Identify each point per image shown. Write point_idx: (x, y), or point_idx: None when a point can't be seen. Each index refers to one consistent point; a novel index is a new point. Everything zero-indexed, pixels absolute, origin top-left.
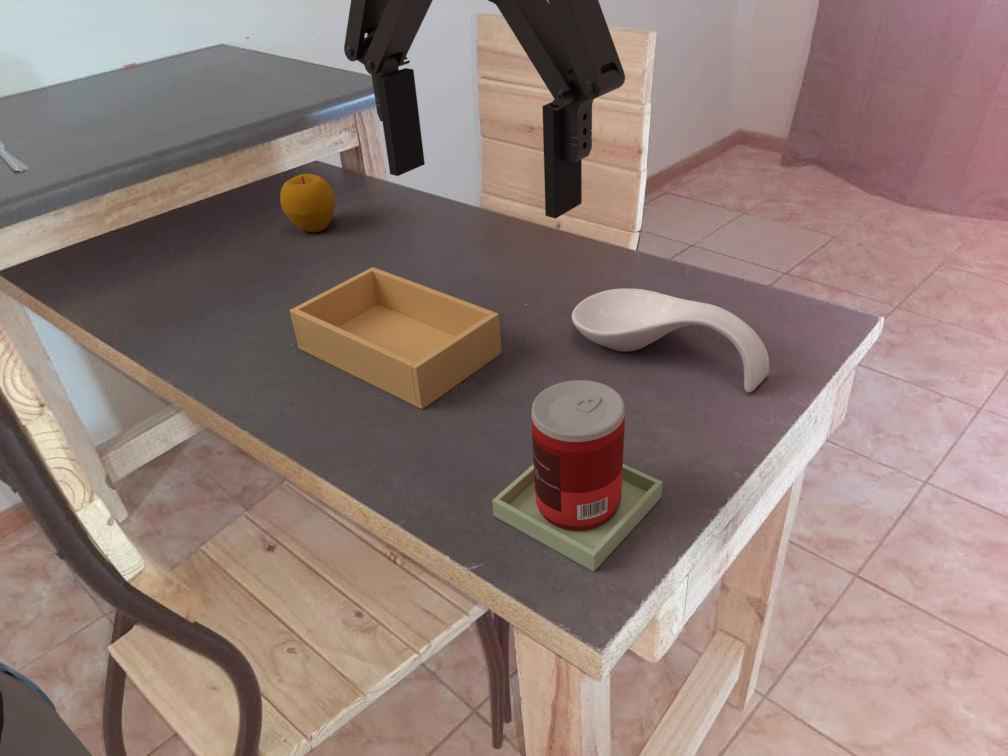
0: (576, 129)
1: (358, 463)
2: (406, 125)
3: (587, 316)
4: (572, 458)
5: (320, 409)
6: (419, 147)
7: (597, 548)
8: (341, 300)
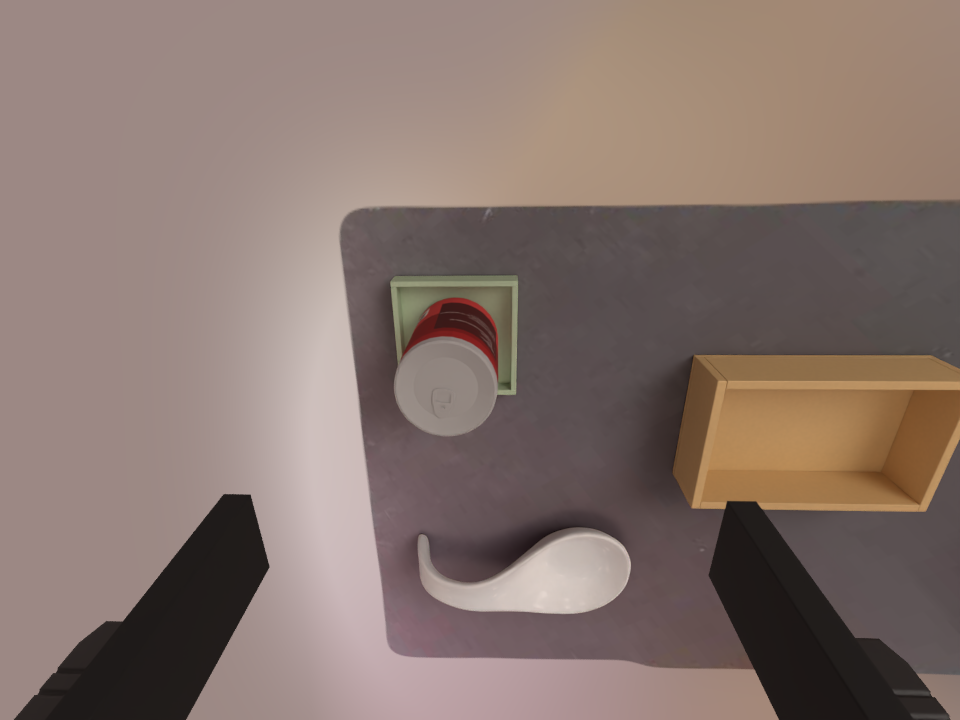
0: (19, 717)
1: (701, 246)
2: (777, 650)
3: (613, 556)
4: (421, 334)
5: (814, 286)
6: (731, 608)
7: (393, 291)
8: (926, 443)
